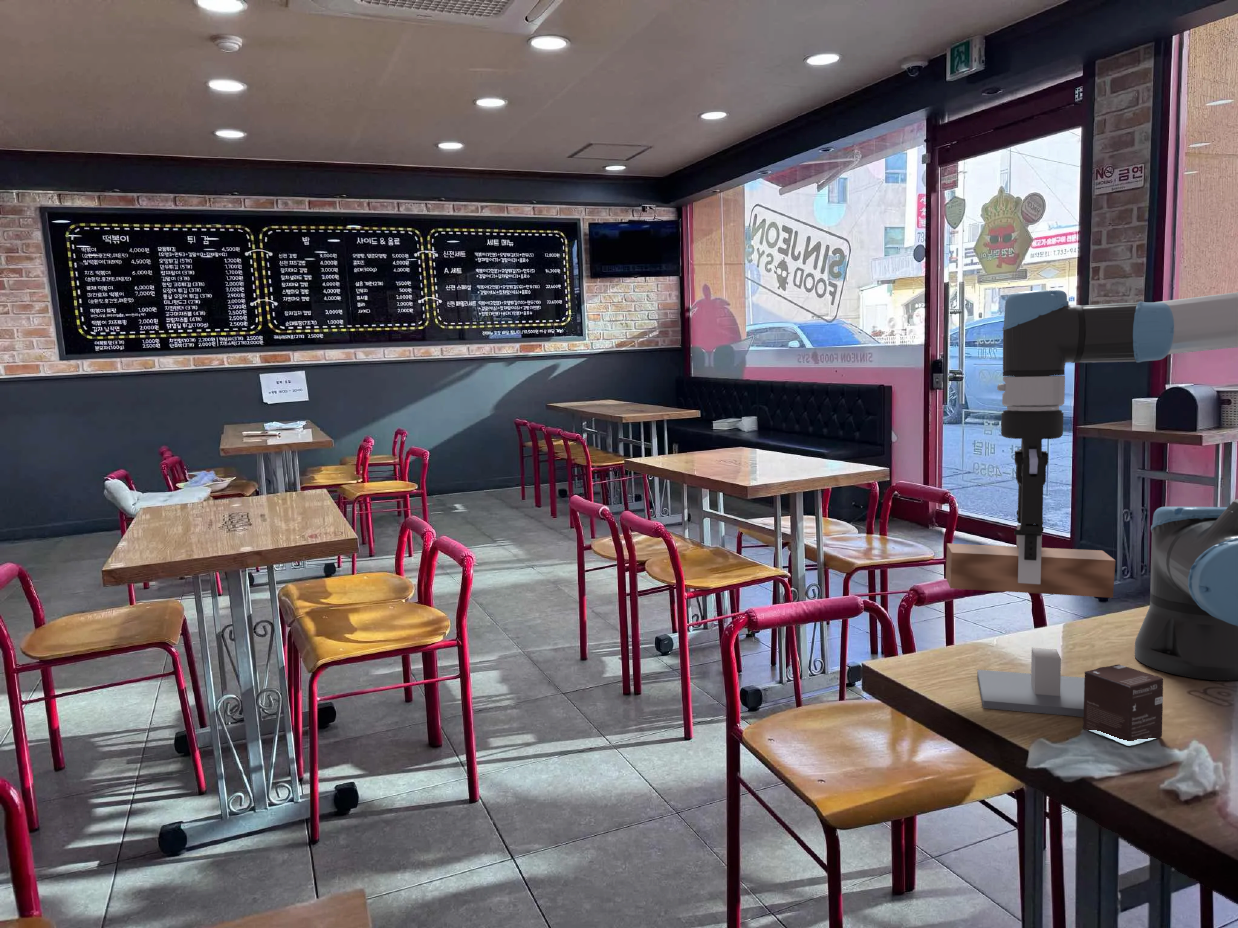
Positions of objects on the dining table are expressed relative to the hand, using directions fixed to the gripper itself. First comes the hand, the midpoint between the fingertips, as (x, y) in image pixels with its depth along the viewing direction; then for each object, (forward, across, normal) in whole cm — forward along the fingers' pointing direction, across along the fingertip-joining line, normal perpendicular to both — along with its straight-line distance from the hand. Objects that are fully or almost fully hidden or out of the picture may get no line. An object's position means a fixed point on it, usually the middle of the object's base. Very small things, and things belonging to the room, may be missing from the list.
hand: (1027, 576), depth 118 cm
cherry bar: (+2, 0, 0) cm, 2 cm away
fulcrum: (+15, +5, +2) cm, 16 cm away
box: (+15, +14, +10) cm, 23 cm away
